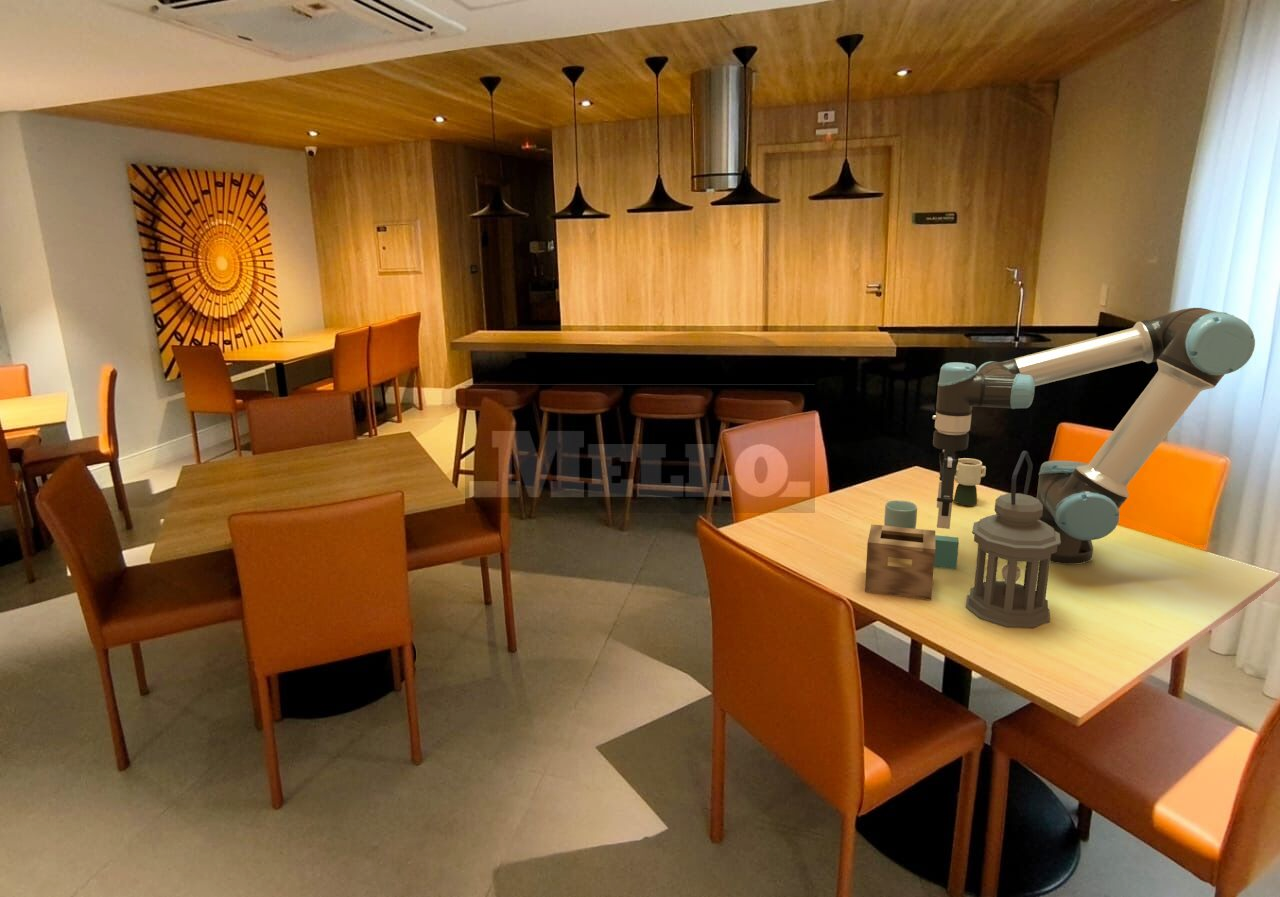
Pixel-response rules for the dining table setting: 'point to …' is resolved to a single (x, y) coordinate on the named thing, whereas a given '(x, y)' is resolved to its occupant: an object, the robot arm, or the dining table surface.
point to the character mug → (968, 480)
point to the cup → (900, 514)
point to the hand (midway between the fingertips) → (942, 517)
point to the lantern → (1013, 560)
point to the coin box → (900, 561)
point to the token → (946, 552)
